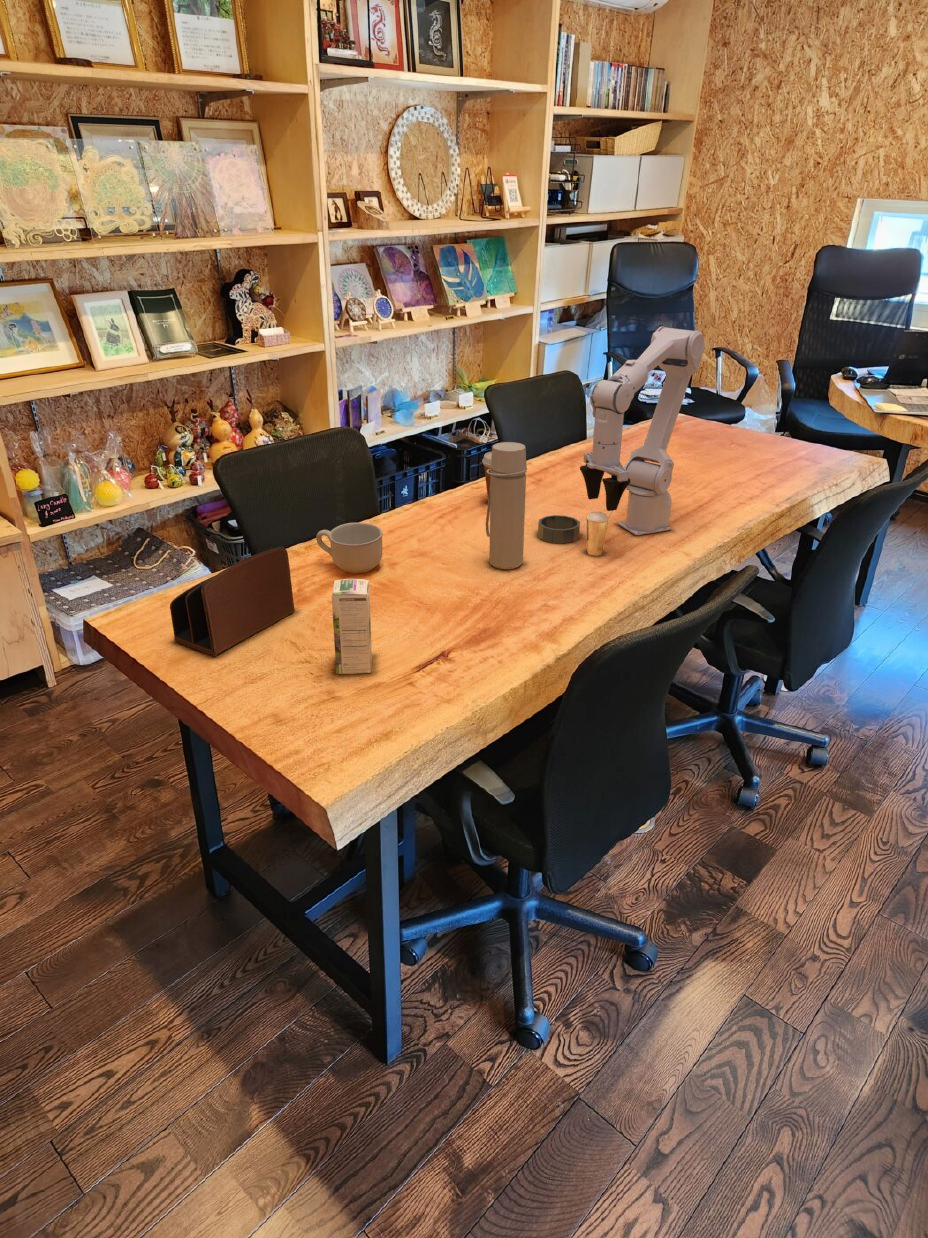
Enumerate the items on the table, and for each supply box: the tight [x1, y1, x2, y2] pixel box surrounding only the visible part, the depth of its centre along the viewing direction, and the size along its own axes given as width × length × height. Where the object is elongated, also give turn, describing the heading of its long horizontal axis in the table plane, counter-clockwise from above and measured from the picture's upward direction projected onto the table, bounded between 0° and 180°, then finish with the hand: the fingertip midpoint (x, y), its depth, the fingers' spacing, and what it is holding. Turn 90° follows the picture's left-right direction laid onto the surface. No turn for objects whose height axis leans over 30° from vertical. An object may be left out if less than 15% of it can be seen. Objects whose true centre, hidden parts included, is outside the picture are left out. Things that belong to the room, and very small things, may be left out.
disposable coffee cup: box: [482, 451, 492, 499], centre depth 203 cm, size 10×10×12 cm
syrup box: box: [331, 578, 373, 675], centre depth 133 cm, size 6×6×14 cm
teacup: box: [315, 522, 383, 575], centre depth 170 cm, size 14×11×8 cm
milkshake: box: [586, 510, 614, 557], centre depth 175 cm, size 4×5×10 cm
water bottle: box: [485, 441, 528, 570], centre depth 167 cm, size 9×8×25 cm
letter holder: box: [169, 546, 296, 657], centre depth 145 cm, size 10×20×14 cm, turn 148°
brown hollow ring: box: [537, 514, 581, 545], centre depth 186 cm, size 9×9×3 cm
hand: (602, 504), depth 175 cm, fingers open, 7 cm apart
